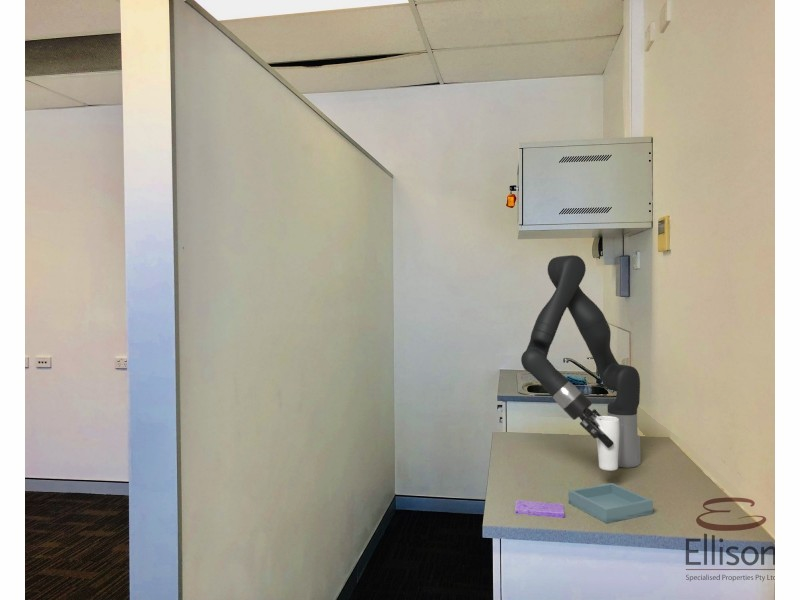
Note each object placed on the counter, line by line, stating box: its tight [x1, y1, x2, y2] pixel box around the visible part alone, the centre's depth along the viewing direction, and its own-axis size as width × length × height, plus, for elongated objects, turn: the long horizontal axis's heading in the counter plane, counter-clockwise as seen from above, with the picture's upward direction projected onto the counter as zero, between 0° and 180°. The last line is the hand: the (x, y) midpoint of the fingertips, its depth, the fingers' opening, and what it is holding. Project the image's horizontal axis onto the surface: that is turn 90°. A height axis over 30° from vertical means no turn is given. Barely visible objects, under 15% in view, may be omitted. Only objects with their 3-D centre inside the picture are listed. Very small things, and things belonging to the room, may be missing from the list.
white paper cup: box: [595, 415, 620, 472], centre depth 167 cm, size 7×7×15 cm
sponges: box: [514, 499, 565, 519], centre depth 150 cm, size 7×13×2 cm, turn 75°
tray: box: [567, 482, 654, 524], centre depth 151 cm, size 15×15×4 cm
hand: (613, 442), depth 166 cm, fingers closed on white paper cup, 6 cm apart
